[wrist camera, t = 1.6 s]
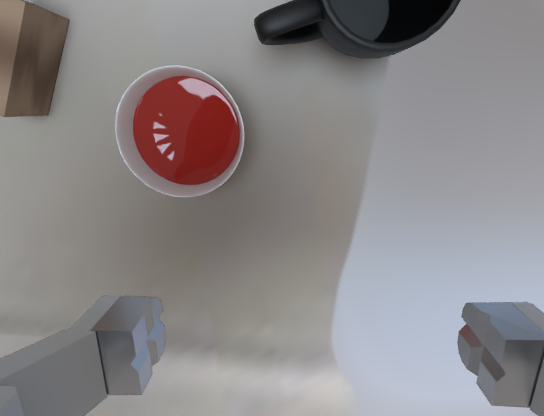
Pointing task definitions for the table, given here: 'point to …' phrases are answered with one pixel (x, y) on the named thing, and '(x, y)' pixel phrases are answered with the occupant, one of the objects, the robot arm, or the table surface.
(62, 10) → the table surface
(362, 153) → the table surface
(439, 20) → the mug
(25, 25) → the block
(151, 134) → the candle
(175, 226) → the table surface
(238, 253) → the table surface
